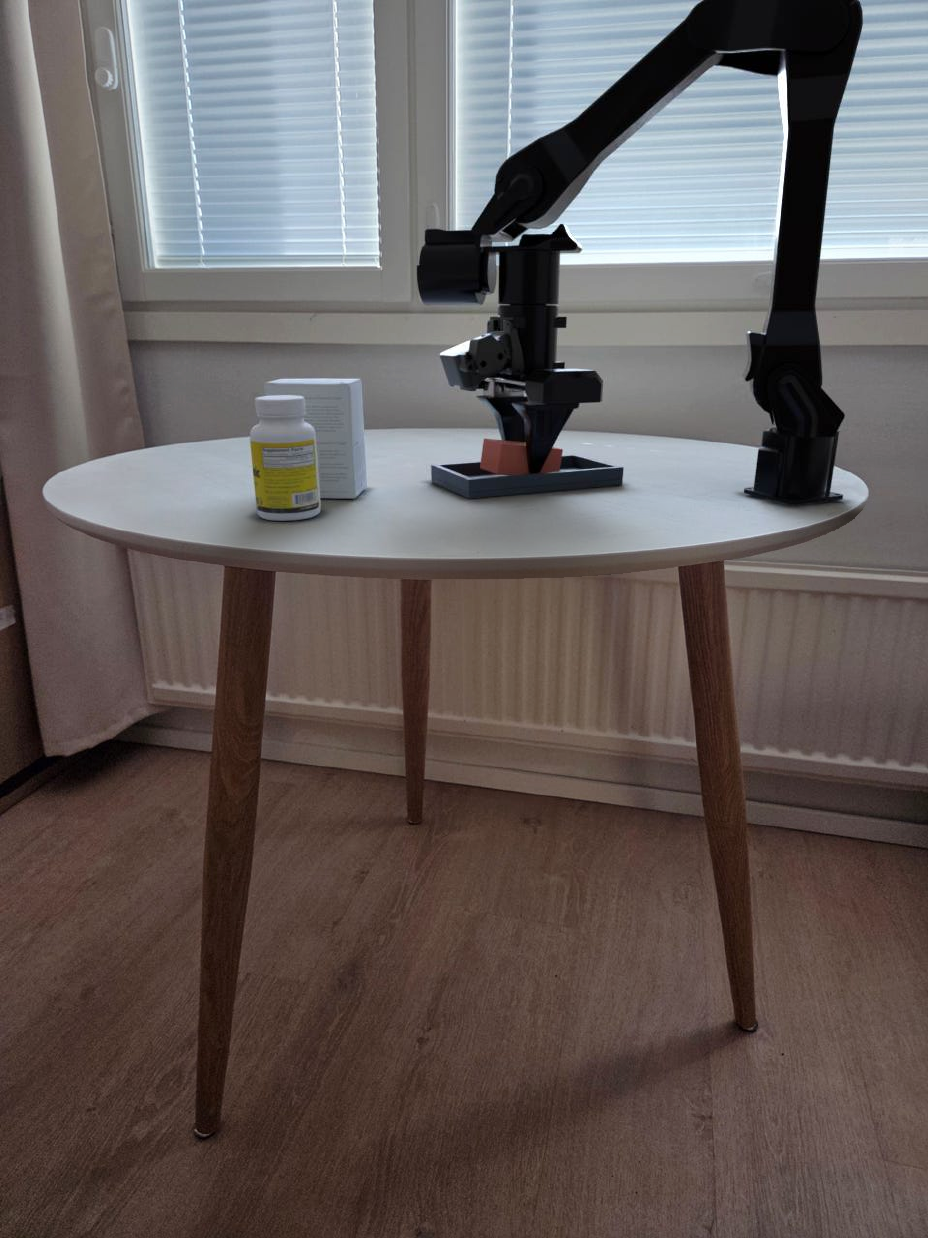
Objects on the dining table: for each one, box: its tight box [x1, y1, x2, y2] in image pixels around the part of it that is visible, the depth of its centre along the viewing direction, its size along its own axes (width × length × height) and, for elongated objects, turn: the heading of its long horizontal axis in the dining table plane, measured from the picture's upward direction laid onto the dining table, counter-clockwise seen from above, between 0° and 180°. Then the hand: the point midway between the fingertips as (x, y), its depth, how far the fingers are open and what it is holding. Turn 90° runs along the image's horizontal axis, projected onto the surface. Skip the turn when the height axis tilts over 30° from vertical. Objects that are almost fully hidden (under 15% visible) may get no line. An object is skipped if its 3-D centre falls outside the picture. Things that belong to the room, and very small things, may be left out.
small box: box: [263, 377, 368, 500], centre depth 79 cm, size 8×6×10 cm
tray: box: [430, 453, 624, 500], centre depth 86 cm, size 17×9×2 cm, turn 114°
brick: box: [480, 438, 564, 475], centre depth 85 cm, size 7×4×3 cm, turn 115°
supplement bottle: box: [249, 395, 322, 522], centre depth 70 cm, size 5×5×10 cm
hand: (523, 469), depth 85 cm, fingers closed on brick, 4 cm apart
